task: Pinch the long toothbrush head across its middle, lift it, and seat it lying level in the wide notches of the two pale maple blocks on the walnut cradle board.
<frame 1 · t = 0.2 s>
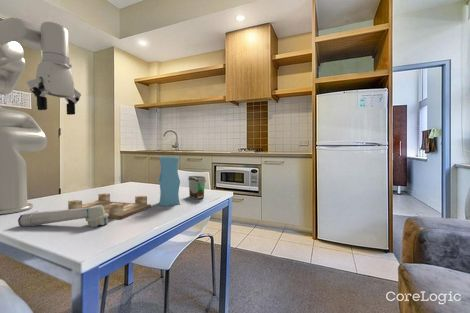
hand: (57, 112, 77), 36 cm above the table, tool pointing down, fingers open, 9 cm apart
toothbrush head: (65, 226, 68), on the table
food container: (199, 197, 108), on the table
v block cradle: (109, 210, 85), on the table
vase: (169, 203, 97), on the table
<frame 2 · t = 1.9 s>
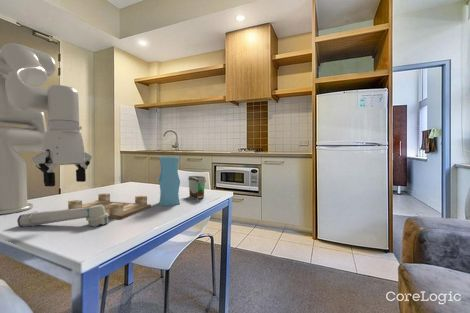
hand: (66, 183, 68), 13 cm above the table, tool pointing down, fingers open, 9 cm apart
nothing on the table moved.
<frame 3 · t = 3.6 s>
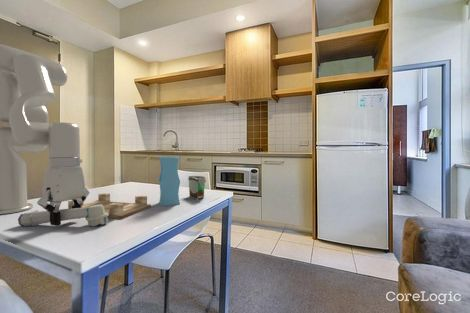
hand: (66, 220, 69), 1 cm above the table, tool pointing down, fingers closed on toothbrush head, 5 cm apart
toothbrush head: (65, 225, 69), on the table, touching gripper
everything else where it was.
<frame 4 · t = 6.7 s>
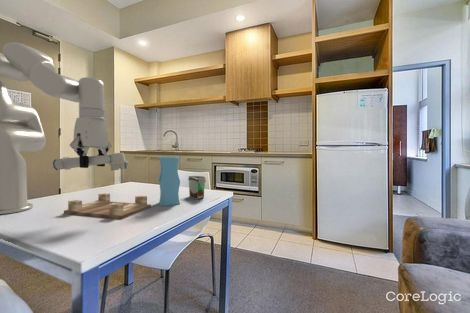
hand: (92, 166, 78), 17 cm above the table, tool pointing down, fingers closed on toothbrush head, 5 cm apart
toothbrush head: (92, 170, 78), point 16 cm above the table, touching gripper
everything else where it was.
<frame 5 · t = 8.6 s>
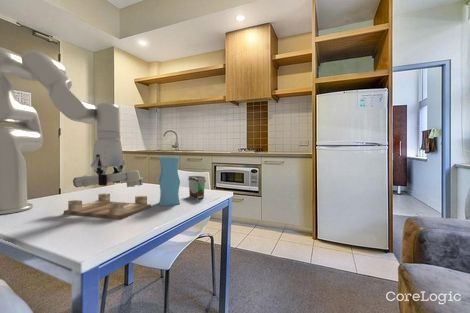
hand: (109, 183, 85), 10 cm above the table, tool pointing down, fingers closed on toothbrush head, 5 cm apart
toothbrush head: (109, 187, 85), point 9 cm above the table, touching gripper
everything else where it was.
when the fingers open (4 cm above the table, at t = 10.1 s): toothbrush head drops 1 cm, resting on v block cradle.
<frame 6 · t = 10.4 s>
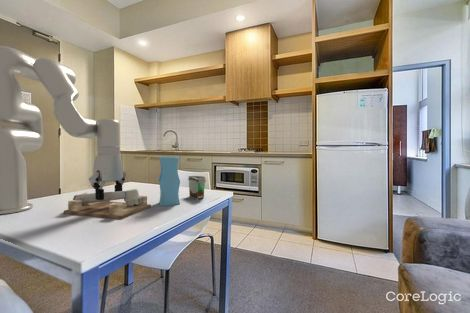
hand: (109, 196, 85), 5 cm above the table, tool pointing down, fingers open, 8 cm apart
toothbrush head: (108, 205, 85), point 2 cm above the table, touching v block cradle
everything else where it was.
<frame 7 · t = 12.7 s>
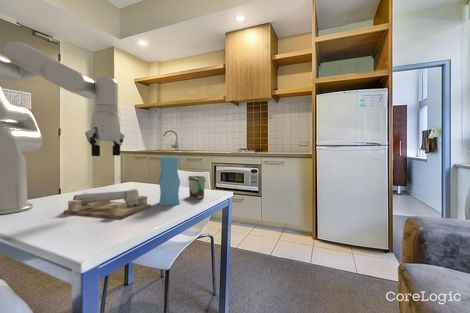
hand: (106, 155, 85), 21 cm above the table, tool pointing down, fingers open, 9 cm apart
nothing on the table moved.
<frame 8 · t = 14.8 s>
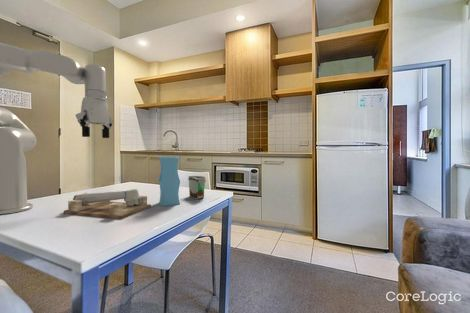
hand: (96, 137, 93), 28 cm above the table, tool pointing down, fingers open, 9 cm apart
nothing on the table moved.
at the end: toothbrush head inside the target area on the v block cradle (0.4 cm from its centre), point 1.8 cm above the v block cradle's base; the gripper is holding nothing; toothbrush head tilted 0° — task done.
